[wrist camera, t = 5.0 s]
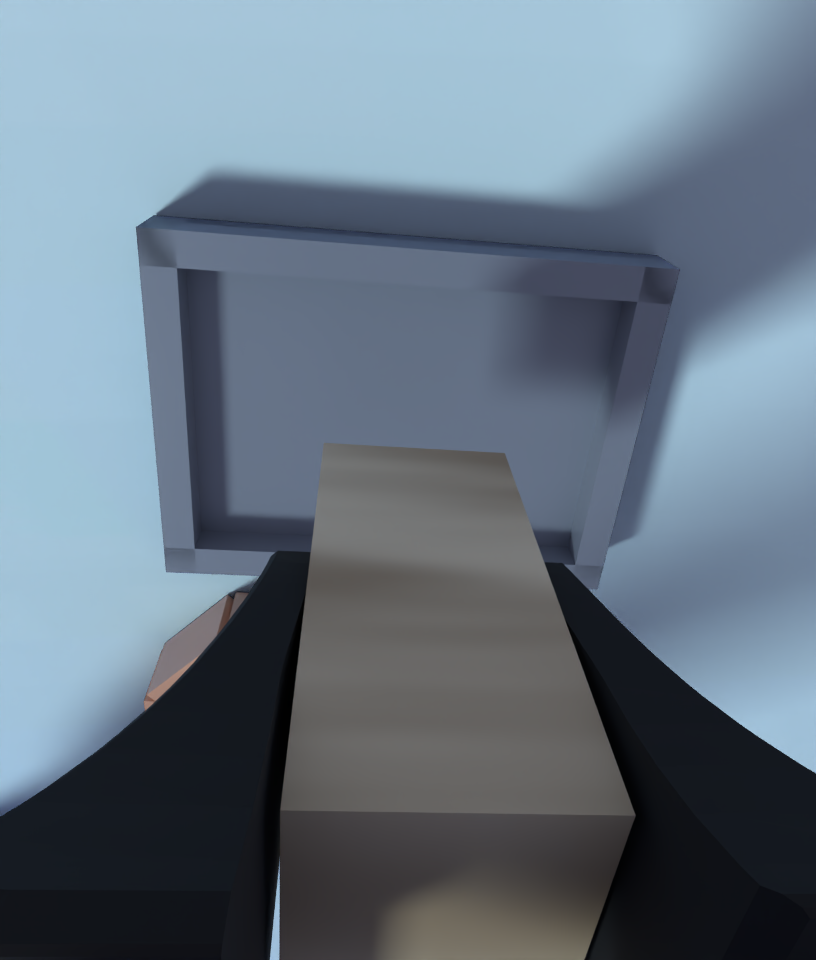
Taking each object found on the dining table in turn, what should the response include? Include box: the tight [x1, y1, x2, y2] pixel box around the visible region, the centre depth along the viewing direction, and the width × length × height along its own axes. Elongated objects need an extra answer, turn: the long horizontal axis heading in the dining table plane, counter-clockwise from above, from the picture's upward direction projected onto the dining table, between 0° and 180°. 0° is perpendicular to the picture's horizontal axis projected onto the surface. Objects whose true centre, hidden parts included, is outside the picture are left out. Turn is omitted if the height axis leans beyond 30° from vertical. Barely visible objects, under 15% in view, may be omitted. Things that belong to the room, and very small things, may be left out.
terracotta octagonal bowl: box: [144, 592, 248, 710], centre depth 23 cm, size 8×8×2 cm
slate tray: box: [136, 215, 680, 589], centre depth 19 cm, size 9×12×2 cm
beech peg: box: [279, 443, 636, 960], centre depth 12 cm, size 4×4×8 cm
